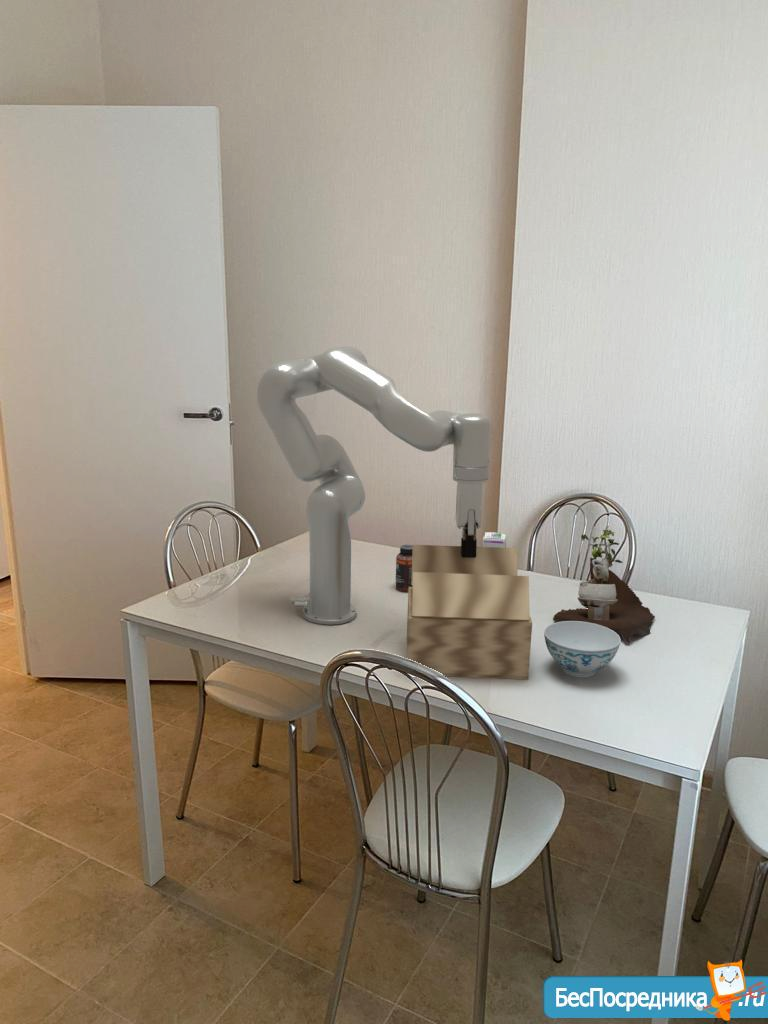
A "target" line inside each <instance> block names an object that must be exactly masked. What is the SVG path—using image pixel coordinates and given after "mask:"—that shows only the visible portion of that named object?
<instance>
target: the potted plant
mask: <svg viewBox="0 0 768 1024" xmlns="http://www.w3.org/2000/svg"><path fill="white" fill-rule="evenodd" d="M602 531H603V534H601V535H600V537H599V536H596V537H593V536H591V539H592V540H591V539H590V538H589V536H588V535H586V533H584V534H581V536H580V537H581V541H582V542H584V541H585V539H586V540H587V541H588V542H589V543H590V544H589V545H588V546H589V547H590V546H591V547H592V551H591V556H592V557H590V558H589V573H590V579H589V580H587V581H588V582H586V581H581V582H580V583H579V586H578V597H577V600H578V602H579V604H580V605H581V606H583V607H584V608H580V607H579V608H576V609H574V608H573V609H571V608H569V609H561V611H557V613H555V614H554V615H553V617H552V620H553V622H562V621H582V622H589V623H594V624H598V625H601V626H604V627H607V628H609V629H611V630H613V631H614V632H616V633H617V634H618V635H619V634H620V635H621V636H622V638H623V640H624V642H625V643H627V644H630V641H631V637H632V635H634V634H638V635H640V636H646V635H649V634H651V633H650V630H651V626H652V624H653V623H654V619H655V617H656V615H654V614H653V613H652V612H651V610H650V608H649V607H647V606H643V604H644V603H643V602H642V601H641V600H640V597H638V596H637V595H636V593H635V592H634V590H633V589H632V588H630V586H629V585H628V584H627V583H626V582H625V581H624V580H622V579H621V578H620V577H619V576H618V575H617V574H616V573H615V572H613V571H612V570H611V569H610V568H612V566H613V562H614V563H619V564H623V561H622V560H620V559H616V558H617V557H616V551H615V549H614V548H611V546H613V545H617V546H619V545H620V543H619V542H615V539H614V538H613V539H612V538H610V535H611V536H612V537H614V535H615V534H616V532H615V531H612V530H611V529H607V528H603V529H602ZM598 539H600V540H601V541H603V542H599V543H597V540H598ZM607 541H608V543H607ZM600 546H602V547H604V549H603V548H602V547H600ZM611 553H612V554H611ZM602 554H604V555H605V556H604V557H603V555H602ZM597 558H600V559H601V560H599V559H597ZM585 608H588V609H585Z"/></svg>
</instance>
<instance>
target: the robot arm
mask: <svg viewBox="0 0 768 1024" xmlns="http://www.w3.org/2000/svg"><path fill="white" fill-rule="evenodd" d="M256 390H257V391H256V398H257V399H256V400H257V404H258V408H259V410H260V413H261V415H262V417H263V418H264V420H265V422H266V423H267V425H268V427H269V429H270V430H271V432H272V434H273V436H274V439H275V441H276V443H277V445H278V447H279V448H280V451H281V452H282V454H283V456H284V458H285V460H286V462H287V464H288V465H289V467H290V470H291V472H292V474H294V476H295V477H296V478H297V479H298V480H300V481H301V482H305V483H311V482H315V481H317V480H318V482H319V483H320V485H318V486H317V487H315V488H314V489H313V490H312V491H311V492H310V494H309V496H308V498H307V501H306V506H305V507H306V517H307V518H306V519H307V524H308V525H307V526H308V531H309V532H308V535H309V536H308V537H309V592H308V595H304V596H299V595H291V596H290V605H294V608H303V609H302V615H303V618H304V619H305V620H307V621H308V622H311V623H314V624H318V625H331V626H333V625H340V624H341V625H342V624H347V623H349V622H351V621H353V620H355V618H356V617H357V615H358V613H357V612H358V611H357V610H358V609H357V608H356V607H355V606H354V605H352V604H351V594H352V593H351V592H352V591H351V590H352V589H351V587H352V583H351V581H352V580H351V579H352V536H351V530H350V525H349V519H350V517H352V516H353V515H355V514H357V512H359V511H360V510H361V509H362V507H363V505H364V504H365V500H366V493H365V488H364V485H363V483H362V481H361V478H360V477H359V475H358V473H357V471H356V469H355V467H354V465H353V463H352V461H351V460H350V457H349V455H348V454H347V451H346V450H345V447H343V445H342V444H341V443H340V442H339V440H337V439H336V438H335V437H333V436H332V435H331V436H330V435H328V434H317V433H316V432H315V430H314V429H313V426H312V425H311V422H310V420H309V418H308V417H307V415H306V413H305V412H304V411H303V410H302V409H301V408H300V406H299V405H298V404H297V402H296V400H297V399H300V398H303V397H307V396H311V395H317V394H319V393H323V392H327V391H331V390H334V391H335V392H337V393H338V394H340V395H342V396H343V397H345V398H347V399H348V400H350V401H352V402H353V403H355V404H357V405H358V406H360V407H361V408H363V409H364V410H366V411H368V412H369V413H370V414H371V415H373V418H374V419H375V420H377V421H378V423H380V424H381V426H382V427H384V428H385V429H386V430H387V431H388V432H390V433H391V434H392V435H394V436H395V437H397V438H399V439H400V440H402V441H403V442H405V443H406V444H408V445H410V446H412V447H413V448H414V449H417V450H419V451H422V452H427V453H429V452H431V453H432V452H434V451H435V452H436V451H437V450H440V449H442V448H443V447H446V446H449V445H453V447H452V449H453V451H452V455H453V456H452V457H453V458H452V480H453V481H454V482H455V483H456V482H457V483H456V497H455V498H456V499H455V501H456V502H455V504H456V505H455V523H456V527H457V528H458V529H459V530H461V531H462V532H461V534H462V535H461V538H460V539H461V541H460V546H461V557H462V558H475V557H476V548H477V547H478V546H477V544H478V542H477V540H478V539H477V529H480V528H481V524H482V511H483V491H484V487H483V486H484V483H488V482H489V476H490V475H489V474H490V448H491V447H490V446H491V419H490V418H489V417H488V416H487V415H486V414H481V413H480V414H479V413H459V412H457V413H456V412H452V411H447V410H434V411H432V412H430V413H427V412H425V411H423V410H422V409H420V408H418V407H416V406H415V405H414V404H412V403H410V402H409V401H408V400H406V399H405V398H404V397H403V396H402V395H401V394H400V393H399V392H398V390H397V387H396V384H395V381H394V380H393V378H391V377H390V376H389V375H386V374H385V373H383V372H382V371H380V370H379V369H377V368H375V367H373V366H371V365H370V364H369V363H368V360H367V358H366V356H365V355H364V353H363V352H362V351H361V350H360V349H358V348H356V347H353V346H347V345H346V346H339V347H338V346H337V347H332V348H329V349H327V350H325V351H324V352H323V353H321V354H317V355H311V356H308V357H304V358H297V359H290V360H287V359H286V360H283V361H279V362H276V363H274V364H272V365H270V366H269V367H268V368H267V369H266V370H264V372H263V374H262V375H261V377H260V379H259V381H258V384H257V389H256ZM461 528H462V529H461Z"/></svg>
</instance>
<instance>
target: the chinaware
mask: <svg viewBox="0 0 768 1024" xmlns="http://www.w3.org/2000/svg"><path fill="white" fill-rule="evenodd" d="M543 634H544V641H545V645H546V648H547V650H548V653H549V655H550V656H551V658H552V659H553V660H554V661H555V662H556V663H557V664H558V665H559V666H561V669H562V672H564V673H565V674H567V675H569V676H572V677H574V678H575V677H576V678H590V677H593V676H595V675H596V673H597V671H600V670H602V669H603V668H605V667H607V666H608V665H609V664H610V663H611V662H612V660H613V659H614V658H615V656H616V654H617V653H618V650H619V649H620V646H621V637H620V635H619V633H618V634H617V633H616V632H614V631H613V630H611V629H609V628H607V627H604V626H601V625H598V624H594V623H589V622H582V621H562V622H559V621H556V622H554V623H551V624H549V625H547V626H546V627H545V628H544V630H543Z"/></svg>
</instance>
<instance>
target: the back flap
mask: <svg viewBox="0 0 768 1024" xmlns="http://www.w3.org/2000/svg"><path fill="white" fill-rule="evenodd" d="M412 545H413V549H412V583H411V585H413V572H425V573H454V574H483V575H513V576H519V575H518V572H519V571H518V570H519V567H518V565H519V564H518V563H519V562H518V561H519V560H518V558H519V557H518V556H519V554H518V553H519V548H518V547H506V548H498V547H482V546H477V548H476V557H475V558H462V557H461V545H438V544H437V545H433V544H432V545H431V544H412Z"/></svg>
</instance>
